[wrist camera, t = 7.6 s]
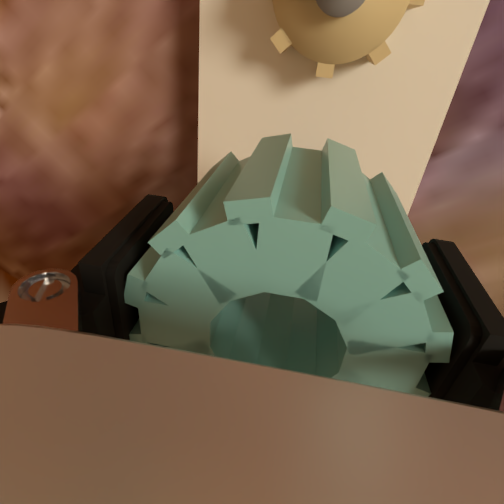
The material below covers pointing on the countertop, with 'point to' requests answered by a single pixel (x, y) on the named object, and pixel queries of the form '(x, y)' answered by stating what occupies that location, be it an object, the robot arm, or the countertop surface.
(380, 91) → the gear board
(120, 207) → the countertop surface
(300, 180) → the loose gear
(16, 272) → the countertop surface
